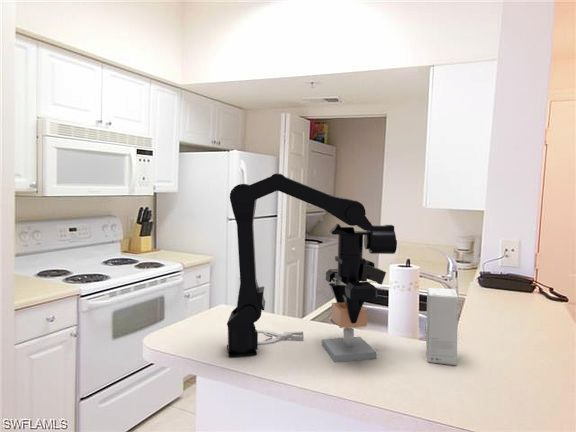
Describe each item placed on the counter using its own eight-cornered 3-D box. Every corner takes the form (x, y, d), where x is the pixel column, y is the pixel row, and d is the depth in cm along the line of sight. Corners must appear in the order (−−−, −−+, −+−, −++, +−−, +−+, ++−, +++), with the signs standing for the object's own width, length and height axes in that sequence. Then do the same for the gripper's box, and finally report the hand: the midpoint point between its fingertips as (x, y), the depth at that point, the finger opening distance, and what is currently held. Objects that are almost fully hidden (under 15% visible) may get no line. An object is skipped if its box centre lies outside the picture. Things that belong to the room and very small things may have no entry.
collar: (340, 327, 96) (340, 310, 96) (331, 318, 102) (331, 302, 102) (366, 326, 97) (366, 309, 97) (356, 317, 104) (356, 301, 103)
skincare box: (456, 366, 93) (459, 297, 91) (425, 362, 95) (427, 294, 93) (453, 352, 101) (456, 288, 99) (424, 348, 103) (427, 286, 101)
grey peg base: (334, 362, 94) (335, 338, 94) (322, 345, 104) (322, 323, 104) (376, 358, 96) (377, 335, 96) (359, 342, 106) (360, 321, 106)
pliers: (247, 326, 113) (302, 327, 113) (247, 332, 114) (302, 333, 114) (243, 340, 104) (304, 340, 104) (243, 346, 104) (304, 347, 104)
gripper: (400, 259, 91) (398, 329, 92) (366, 246, 109) (365, 305, 110) (352, 261, 89) (350, 333, 90) (325, 247, 107) (324, 307, 108)
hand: (348, 318), depth 100 cm, fingers closed on collar, 6 cm apart
